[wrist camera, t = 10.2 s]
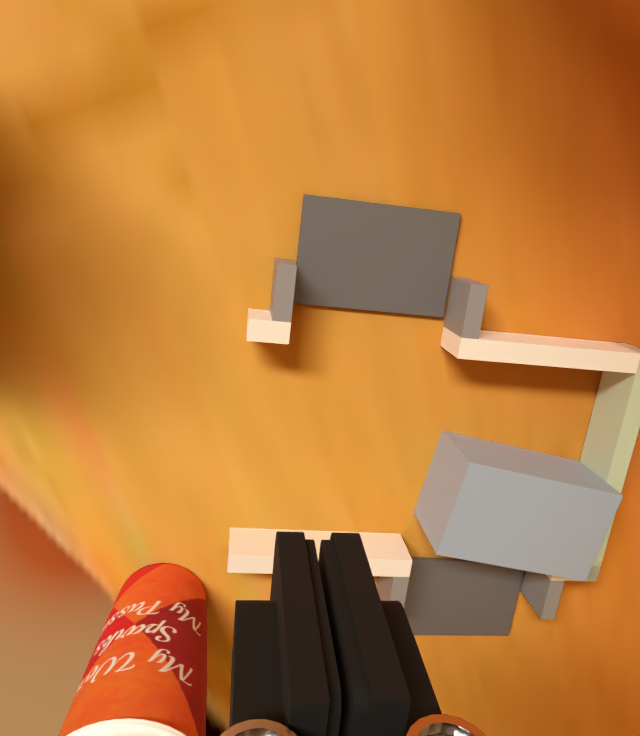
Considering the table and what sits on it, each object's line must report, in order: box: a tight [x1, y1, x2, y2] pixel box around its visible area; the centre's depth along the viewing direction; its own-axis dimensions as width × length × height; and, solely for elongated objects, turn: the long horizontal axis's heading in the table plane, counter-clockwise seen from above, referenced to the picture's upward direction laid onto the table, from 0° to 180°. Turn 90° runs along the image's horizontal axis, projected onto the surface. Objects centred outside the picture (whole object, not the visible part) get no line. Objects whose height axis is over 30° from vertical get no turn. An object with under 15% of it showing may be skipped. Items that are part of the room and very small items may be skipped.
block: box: [414, 430, 623, 581], centre depth 36 cm, size 6×10×5 cm, turn 74°
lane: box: [227, 194, 640, 636], centre depth 35 cm, size 29×24×3 cm
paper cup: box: [58, 563, 207, 736], centre depth 31 cm, size 8×8×14 cm
